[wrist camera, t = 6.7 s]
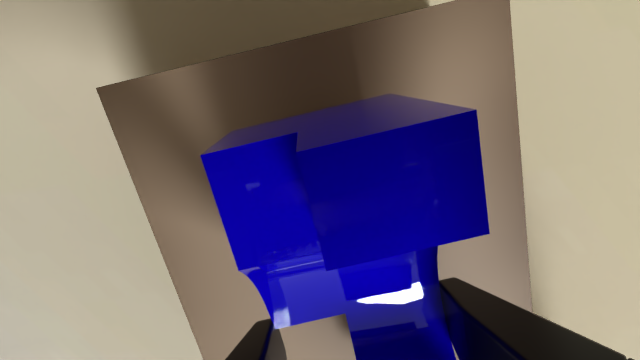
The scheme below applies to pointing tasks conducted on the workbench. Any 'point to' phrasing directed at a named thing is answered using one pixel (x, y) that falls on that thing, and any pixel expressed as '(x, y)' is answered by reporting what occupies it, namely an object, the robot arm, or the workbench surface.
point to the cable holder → (354, 216)
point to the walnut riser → (304, 97)
